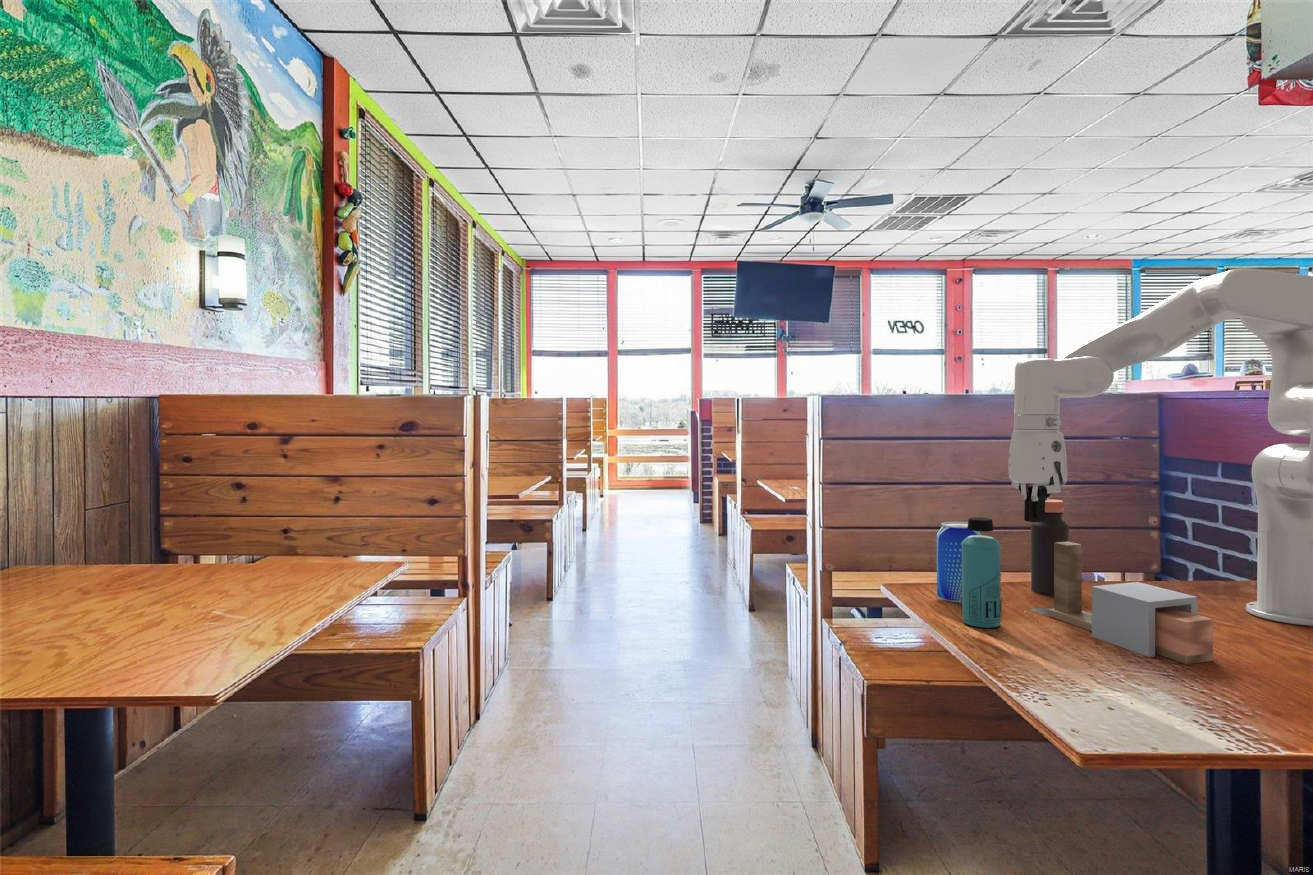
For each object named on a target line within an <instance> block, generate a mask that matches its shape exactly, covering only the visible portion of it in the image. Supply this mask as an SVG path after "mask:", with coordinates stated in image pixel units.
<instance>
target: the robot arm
mask: <svg viewBox="0 0 1313 875" xmlns="http://www.w3.org/2000/svg"><path fill="white" fill-rule="evenodd" d="M1234 319H1236V320H1237V319H1239V320H1240V322H1241V324H1242V325H1243V326H1244V327H1245V328H1246V329H1247V330H1248V331H1249V332H1251V333H1252V334H1253V335H1255V336H1256V337H1258V338H1259V339H1260V340H1261V341H1262V342H1263V343H1264V345H1265V346H1266V347H1267V349H1268V351H1269V354H1270V357H1271V378H1270V385H1269V387H1270V388H1269V394H1268V395H1269V396H1268V404H1267V405H1268V407H1267V421H1268V423H1269V425H1270V426H1271V427H1272V428H1273V429H1274V430H1275V431H1277V432H1278V433H1280V434H1284V435H1288V436H1289V435H1290V436H1295V437H1309V438H1310V439H1309V443H1298V442H1297V443H1295V442H1292V443H1291V442H1289V443H1288V442H1286V443H1278V444H1273V445H1271V446H1268V447H1266V448H1264V449H1263V450H1261V451H1260V452H1259V453H1258V454H1256V456H1255V458H1254V459H1253V461H1252V465H1251V479H1252V484H1253V487H1254V493H1255V495H1256V504H1257V574H1256V575H1257V578H1256V579H1257V580H1256V581H1257V582H1256V583H1257V585H1256V586H1257V587H1256V594H1257V596H1256V598H1257V599H1256V600H1255V601H1250V602H1248V603H1246V604H1245V611H1246V612H1248V613H1249V614H1251V615H1252V616H1256V617H1258V618H1262V619H1266V620H1270V621H1273V622H1274V621H1275V622H1279V623H1284V624H1290V625H1291V624H1292V625H1300V626H1310V627H1313V275H1307V274H1298V273H1292V272H1291V273H1290V272H1283V271H1277V270H1276V271H1275V270H1270V269H1269V270H1268V269H1262V268H1261V269H1259V268H1248V267H1247V268H1244V267H1243V268H1242V267H1241V268H1235V269H1229V270H1226V271H1222V272H1220V273H1216V274H1213V275H1209V276H1206V277H1203V278H1201V279H1198V280H1196V281H1194V282H1193V283H1191V284H1189V285H1187V286H1185V287H1184V288H1182V289H1181V290H1179V291H1177V292H1175V293H1174V294H1172V295H1170V296H1168V297H1167V298H1165V299H1164V300H1162V301H1161V302H1159V303H1157V304H1156V305H1154V306H1152V307H1150V308H1148V309H1147V310H1146V311H1143V312H1142V313H1140V314H1139V315H1137V316H1135V317H1134V318H1131V319H1129V320H1127V321H1125V322H1124V323H1122V324H1120V325H1118V326H1116V327H1114V328H1113V329H1111V330H1109V331H1107V332H1106V333H1104V334H1101V335H1099V336H1097V337H1096V338H1093V339H1092V340H1090V341H1088V342H1086V343H1085V344H1083V345H1080V346H1079V347H1078V348H1075V350H1072V351H1071V352H1069V353H1067V354H1066V355H1063V357H1060V358H1059V359H1055V358H1049V357H1048V358H1047V357H1046V358H1042V357H1041V358H1039V357H1038V358H1037V357H1036V358H1027V359H1026V358H1025V359H1021V360H1019V361H1018V362H1017V363H1016V365H1015V367H1014V396H1013V397H1014V399H1013V400H1014V402H1013V403H1014V405H1013V406H1014V407H1013V431H1012V433H1011V438H1010V443H1009V451H1008V464H1007V465H1008V469H1007V470H1008V473H1007V474H1008V478H1009V480H1010V481H1011V487H1013V488H1014V489H1016V490H1018V491H1019V492H1020V493H1021V499H1022V500H1024V507H1023V508H1024V512H1023V513H1024V515H1023V517H1024V518H1023V520H1024V521H1025V522H1030V523H1033V522H1044V521H1045V501H1047V500H1048V499H1050V498H1049V497H1050V496H1051V495H1053V494H1058V493H1061V492H1062V489H1061V486H1064V485H1065V484H1067V482H1068V460H1067V458H1068V457H1067V448H1066V447H1067V446H1066V443H1065V442H1066V441H1065V436H1064V433H1063V432H1060V426H1061V425H1062V421H1063V420H1062V419H1061V418H1060V416H1061V414H1060V413H1061V409H1060V408H1061V399H1072V398H1075V399H1077V398H1078V399H1080V398H1084V399H1085V398H1092V397H1096V396H1098V395H1099V396H1100V394H1103V393H1105V392H1106V391H1107V390H1108V389H1109V388H1110V387H1111V386H1112V384H1113V382H1114V377H1115V372H1118V371H1120V370H1122V369H1125V368H1128V367H1132V366H1134V365H1138V364H1141V363H1145V362H1149V361H1152V360H1155V359H1157V358H1160V357H1162V356H1165V355H1166V354H1169V353H1171V352H1172V351H1174V350H1176V349H1178V348H1179V347H1181V346H1182V345H1184V344H1185V343H1187V342H1189V341H1190V340H1192V339H1194V338H1196V337H1197V336H1199V335H1200V334H1203V333H1204V332H1206V331H1208V330H1209V329H1211V328H1213V327H1215V326H1216V325H1218V324H1220V323H1223V322H1225V321H1229V320H1234Z"/></svg>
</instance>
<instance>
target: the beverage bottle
mask: <svg viewBox="0 0 1313 875" xmlns="http://www.w3.org/2000/svg"><path fill="white" fill-rule="evenodd" d="M967 522H968V527H967V529H968V530H972V531H979V532H985V533H986V532H993V531H994V521H993V519H992V518H989V517H984V516H983V517H982V516H981V517H980V516H978V517H977V516H974V517H969V518H968V520H967ZM981 535H982V534H981ZM981 535H972V536H968V537H967V538H965V539H964V540H963V541H962V542H961V545H962V594H961V595H962V603H961V615H960V616H961V618H962V622H964V623H965V624H966V625H969V626H973V627H977V628H987V629H988V628H997V627H999V626H1000V625H1001V623H1002V617H1003V614H1002V612H1003V611H1002V610H1003V608H1002V604H1003V603H1002V602H1003V598H1002V597H1001V596H1002V589H1001V588H1002V586H1001V584H1002V582H1001V580H1002V572H1001V569H1002V567H1001V566H1002V563H1001V562H1002V561H1001V544H1000V542H999V540H997V539H996V538H995V537H992V536H988V535H982V536H981Z"/></svg>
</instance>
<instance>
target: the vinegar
mask: <svg viewBox="0 0 1313 875" xmlns="http://www.w3.org/2000/svg"><path fill="white" fill-rule="evenodd" d="M1064 510H1065V507H1064V500H1061V499H1053V498H1052V499H1051V498H1048V500H1047V501H1045V521H1044V522H1031V524H1030V592H1033V593H1035V594H1039V595H1044V596H1049V597H1050V596H1052V597H1054V543H1055V542H1070V525H1069V524H1068V523H1067V522H1066V521H1065V519H1063V515H1064V512H1065V511H1064Z"/></svg>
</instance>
